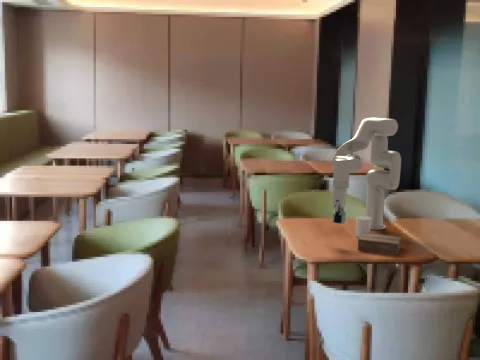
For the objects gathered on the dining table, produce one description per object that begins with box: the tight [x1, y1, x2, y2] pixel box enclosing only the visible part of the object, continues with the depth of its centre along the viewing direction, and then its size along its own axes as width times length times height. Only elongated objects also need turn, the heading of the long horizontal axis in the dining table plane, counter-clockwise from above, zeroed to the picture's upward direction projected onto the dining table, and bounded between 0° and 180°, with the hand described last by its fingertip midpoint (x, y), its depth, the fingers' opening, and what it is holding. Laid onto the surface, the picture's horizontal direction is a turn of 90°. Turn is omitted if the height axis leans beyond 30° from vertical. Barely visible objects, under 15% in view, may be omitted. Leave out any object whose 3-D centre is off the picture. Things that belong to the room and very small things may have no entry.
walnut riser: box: [357, 232, 402, 256], centre depth 274 cm, size 14×18×5 cm
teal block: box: [332, 210, 346, 225], centre depth 278 cm, size 5×5×5 cm
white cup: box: [355, 215, 372, 239], centre depth 293 cm, size 8×8×10 cm
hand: (338, 221), depth 278 cm, fingers closed on teal block, 4 cm apart
